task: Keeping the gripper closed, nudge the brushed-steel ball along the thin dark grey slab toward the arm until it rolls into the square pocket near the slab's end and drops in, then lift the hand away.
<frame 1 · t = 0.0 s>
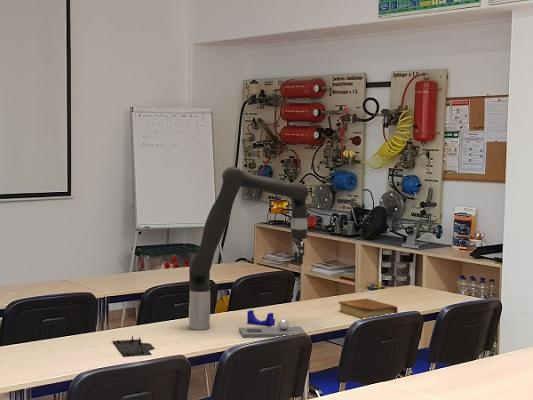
hand: (298, 262, 381), 29 cm above the table, fingers open, 8 cm apart
pocket slab: (272, 333, 367), on the table
steel ball: (283, 324, 368), point 4 cm above the table, touching pocket slab
diary: (367, 315, 412), on the table
cable clip: (260, 325, 386), on the table
circuit board: (135, 349, 339), on the table
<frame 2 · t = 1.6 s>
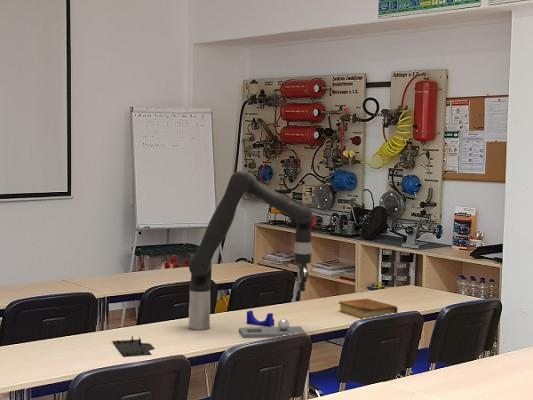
hand: (302, 290, 368), 19 cm above the table, fingers closed
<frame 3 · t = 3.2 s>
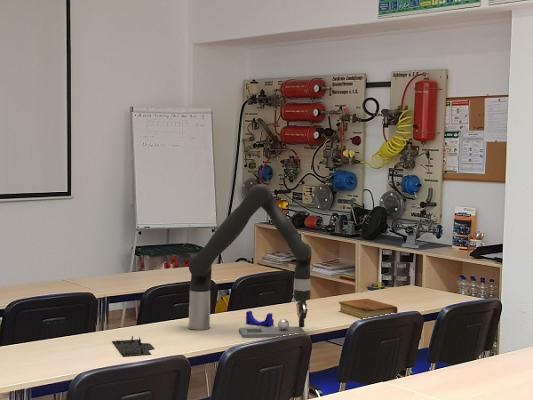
hand: (301, 326, 369), 3 cm above the table, fingers closed
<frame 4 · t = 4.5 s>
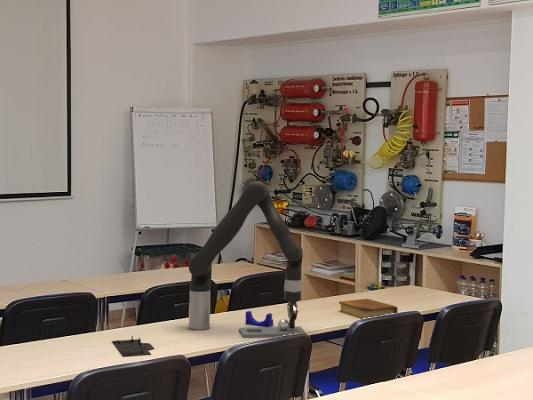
hand: (291, 328, 369), 2 cm above the table, fingers closed
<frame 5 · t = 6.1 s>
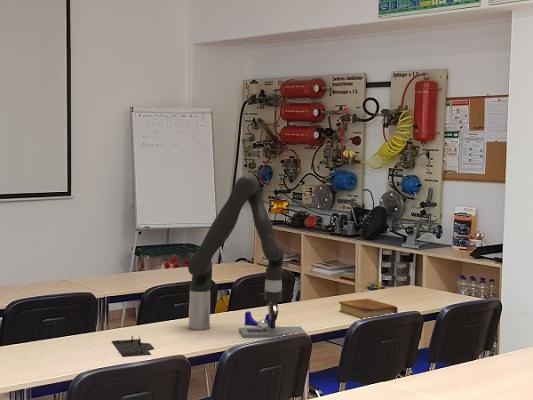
hand: (272, 328, 367), 2 cm above the table, fingers closed
steel ball: (263, 325, 366), point 4 cm above the table, tilted 170°, touching pocket slab
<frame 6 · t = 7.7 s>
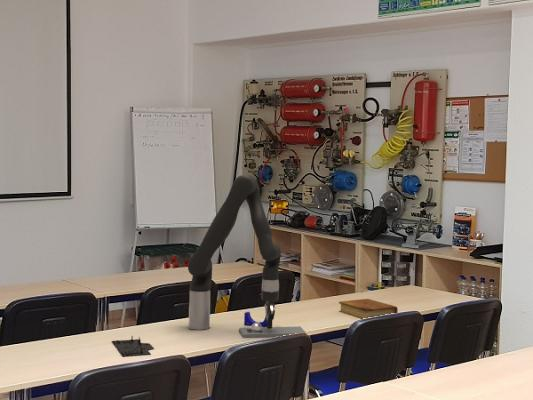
hand: (269, 328, 367), 3 cm above the table, fingers closed
steel ball: (256, 328, 366), point 2 cm above the table, tilted 87°
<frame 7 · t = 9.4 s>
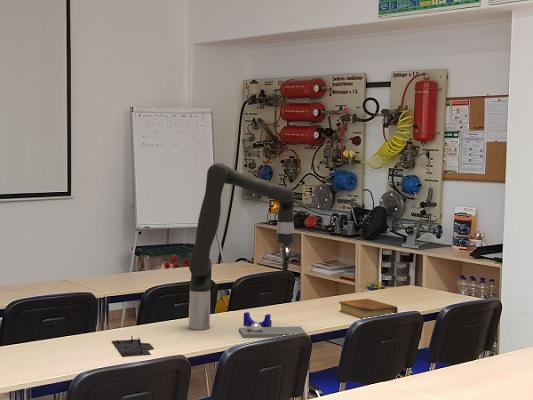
hand: (284, 270, 370), 27 cm above the table, fingers closed
steel ball: (256, 328, 366), point 2 cm above the table, tilted 82°
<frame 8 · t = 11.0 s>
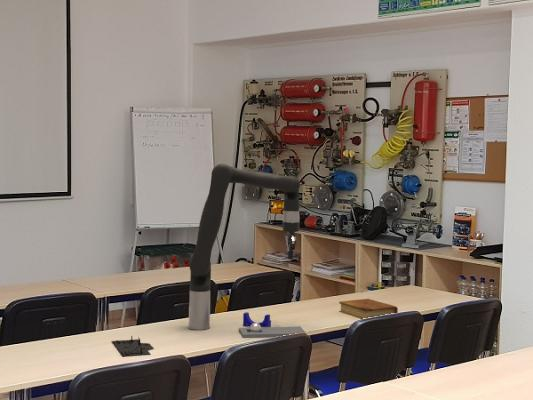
hand: (290, 259, 374), 32 cm above the table, fingers closed
steel ball: (255, 328, 366), point 2 cm above the table, tilted 77°
at the end: steel ball 0.4 cm from the target spot on the pocket slab, point 2.5 cm above the pocket slab's base; steel ball point 2.5 cm above the table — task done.
